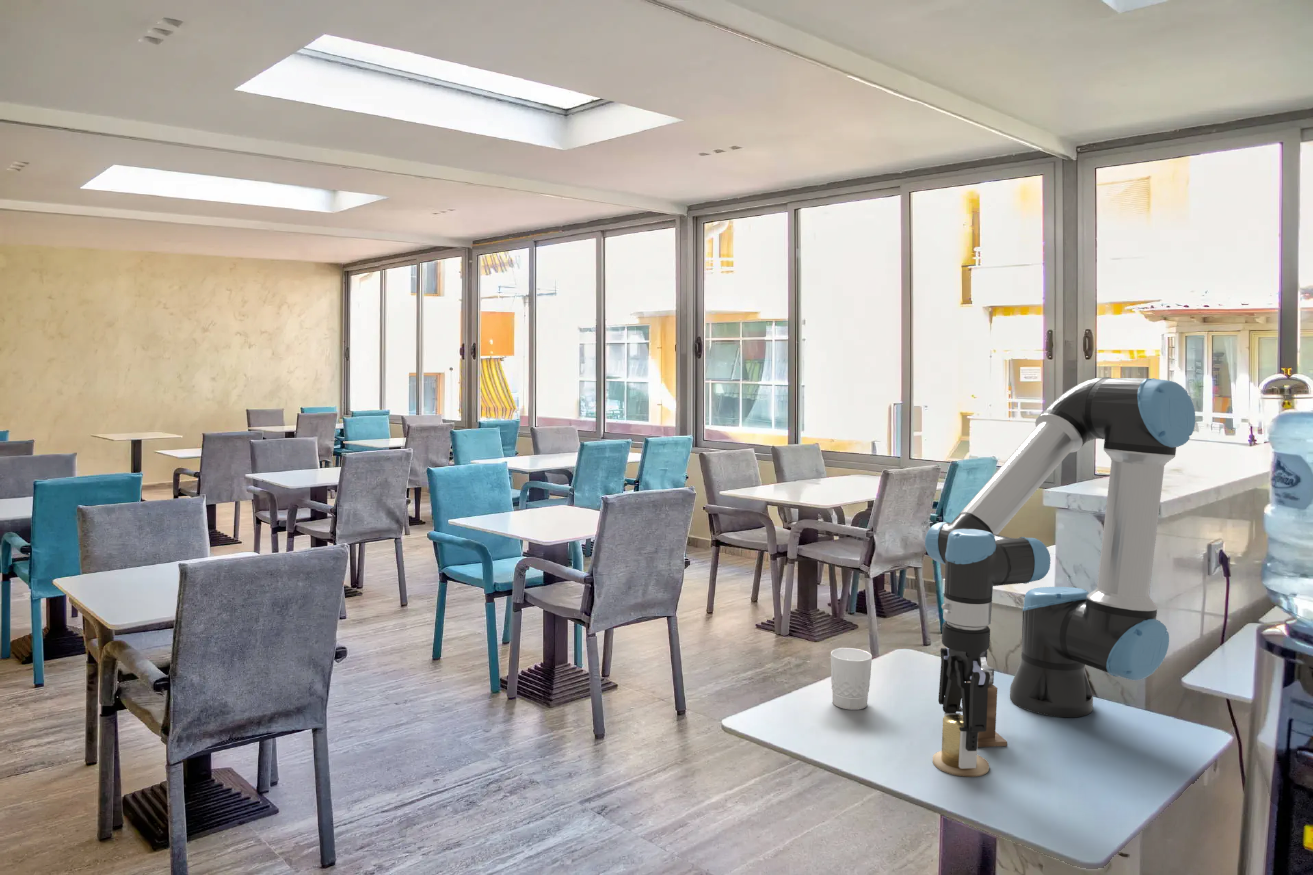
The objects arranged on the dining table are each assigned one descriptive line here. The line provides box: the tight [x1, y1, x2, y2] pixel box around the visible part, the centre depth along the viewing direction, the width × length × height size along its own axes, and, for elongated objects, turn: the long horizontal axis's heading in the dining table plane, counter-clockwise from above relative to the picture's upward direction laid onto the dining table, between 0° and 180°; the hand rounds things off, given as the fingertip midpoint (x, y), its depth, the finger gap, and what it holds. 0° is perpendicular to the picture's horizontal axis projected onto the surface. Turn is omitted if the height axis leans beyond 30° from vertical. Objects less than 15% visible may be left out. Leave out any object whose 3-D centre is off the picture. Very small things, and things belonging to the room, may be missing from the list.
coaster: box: [932, 750, 990, 778], centre depth 155 cm, size 9×9×1 cm
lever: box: [970, 650, 995, 685], centre depth 170 cm, size 16×4×2 cm, turn 164°
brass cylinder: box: [941, 714, 970, 769], centre depth 155 cm, size 6×6×7 cm
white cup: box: [830, 647, 873, 711], centre depth 181 cm, size 8×8×10 cm
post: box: [965, 681, 1008, 748], centre depth 166 cm, size 7×7×10 cm
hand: (959, 758), depth 155 cm, fingers closed on brass cylinder, 6 cm apart
